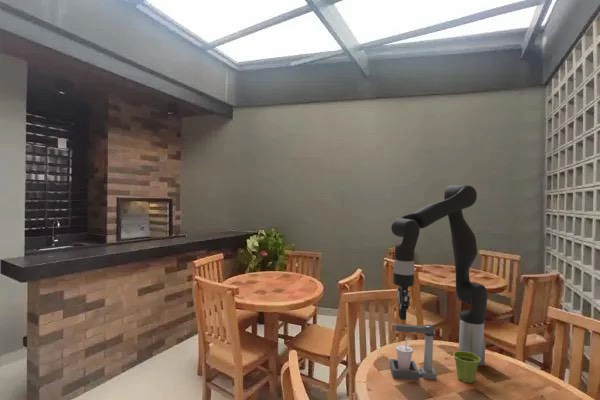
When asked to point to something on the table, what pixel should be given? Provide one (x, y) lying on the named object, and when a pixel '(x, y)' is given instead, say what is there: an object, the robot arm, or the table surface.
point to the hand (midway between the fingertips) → (402, 317)
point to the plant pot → (466, 365)
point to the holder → (415, 373)
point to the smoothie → (404, 356)
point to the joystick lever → (413, 328)
